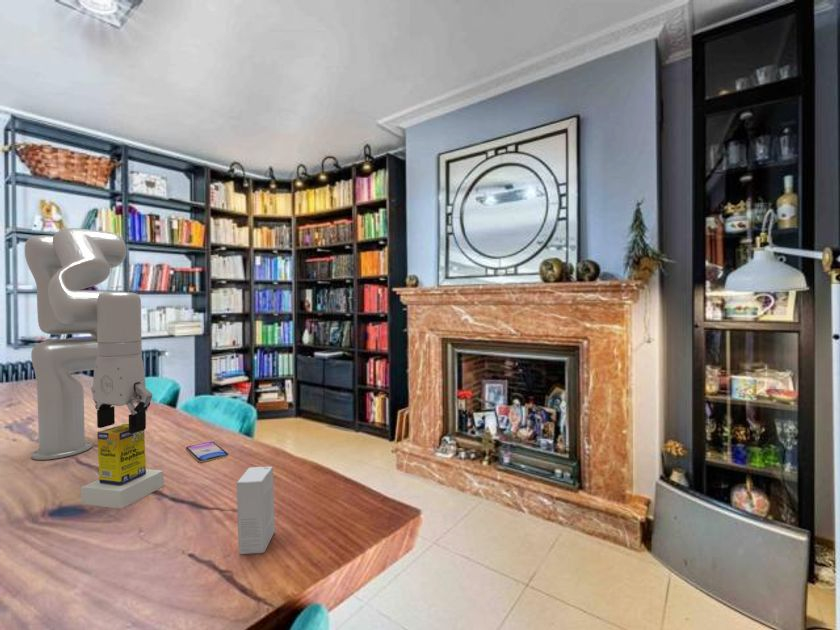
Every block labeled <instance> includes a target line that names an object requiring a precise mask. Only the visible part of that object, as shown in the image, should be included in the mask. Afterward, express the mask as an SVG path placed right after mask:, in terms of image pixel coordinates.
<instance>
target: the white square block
mask: <svg viewBox="0 0 840 630" xmlns="http://www.w3.org/2000/svg"><path fill="white" fill-rule="evenodd" d="M164 482H165V481H164V470H160V469H159V470H158V469H148V468H146V474H144V475H141V476H139V477H137V478H135V479H132V480H130V481H128V482H126V483H124V484H122V485H114V484H106V483H100V482H99V479H97V480H95V481H92V482H89V483H88V484H86V485H82V486H81V487H80V499H81V501H80V502H81V504H80V505H86V506H95V507H102V508H103V507H104V508H113V509H120V510H121V509H124V508H126V507H127V506H129V505H131V504H133V503H135V502H137V501H138V500H141V499H142V498H145V497H146V496H147V495H150V494H152V493H154V492H156V491H157V490H159V489H161V488H163V487H164V485H165V484H164Z"/></svg>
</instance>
